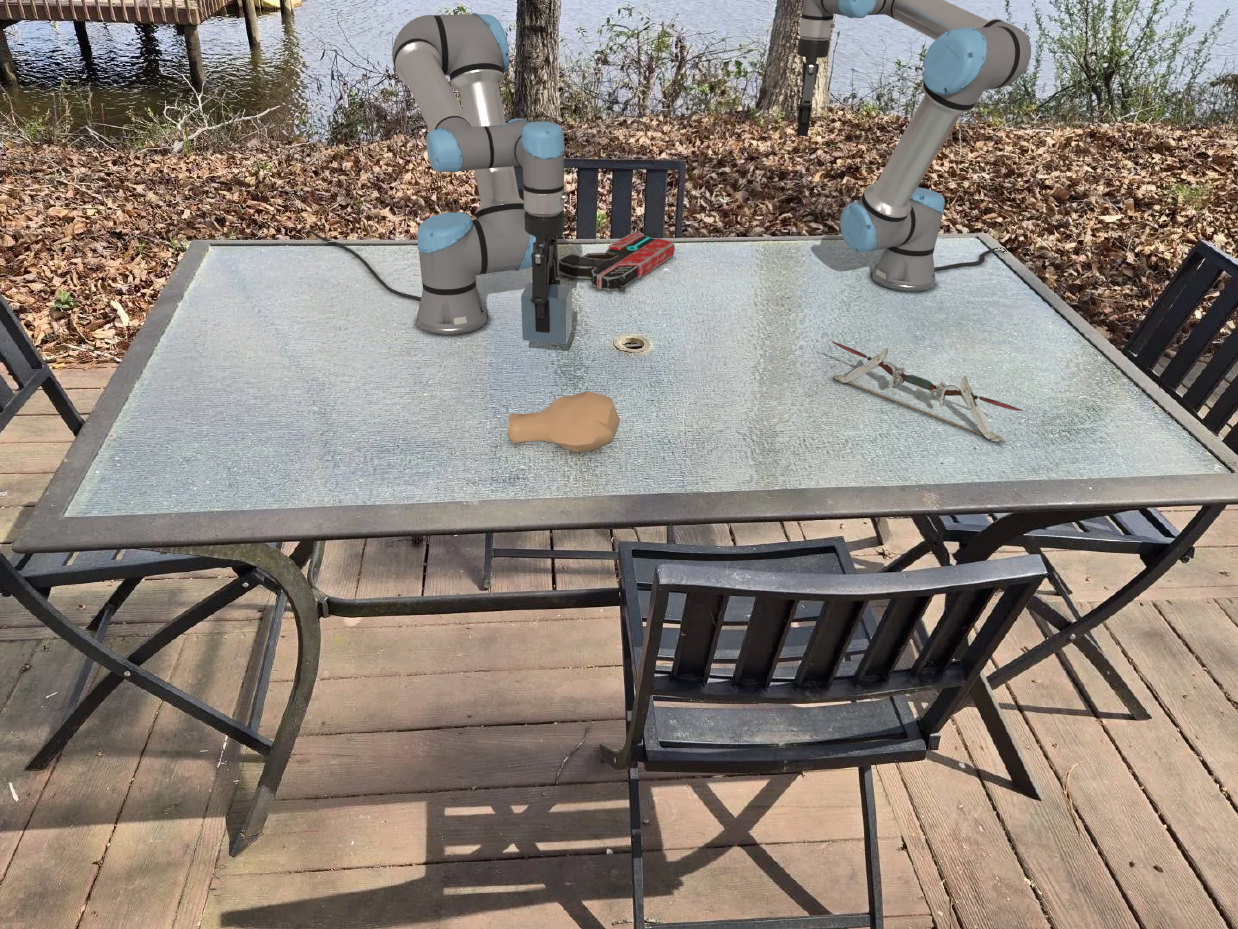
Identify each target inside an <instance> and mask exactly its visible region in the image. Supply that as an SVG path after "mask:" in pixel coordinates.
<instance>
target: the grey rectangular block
mask: <svg viewBox="0 0 1238 929" xmlns="http://www.w3.org/2000/svg"><path fill="white" fill-rule="evenodd" d="M531 299H532V282H528V283H527V284H526V286H525V288H524V289H523V291H522V293H521V295H520V302H521V304H520V305H521V332H522V336H521V337H522V341H526V342H538V343H550V344H560V345H561V344H562V345H566V344H567V343H568V341H569V338H570V336H571V333H572V330H573V286H572V285H565V284H560V285H553V284H549V285H548V301H549V315H550V331H549V333H548V332H537V331H536V325H535V303H533V302H531Z"/></svg>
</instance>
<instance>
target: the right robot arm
mask: <svg viewBox="0 0 1238 929" xmlns="http://www.w3.org/2000/svg"><path fill="white" fill-rule="evenodd" d="M835 15H837V16H843V17H847V18H849V19H864V18H866V17H867V16H880V15H881V16H883V15H884V16H887V17H889V18H892V19H893V20H896V21H898V22H899V23H902V24H904V25H905V26H907V27H910V28H911V29H913V30H915V31H917V32H918V33H919V32H920V33H921V34H922V35H925V36H927V37H929V38H930V39H933V40H934V41H933V42H932V43H931V45H929V48H928V49H927V51H926V53H925V56H924V58H923V61H922V62H923V63H922V67H923V68H924V69H923V70H922V72H921V73H922V79H923V82H922V90H923V93H924V95H923V96H922V100H921V101H920V103H919V105H918V106H917V108H916V109H915V112H914V114H913V115H912V117H911V119H910V121H909V123H908V125H907V127H906V128H905V130H904V132H903V133H902V136H901V138H900V139H899V141H898V143H897V144H896V145H895V146H896V147H895V148H894V150H893V152H892V154H891V155H890V157H889V159H888V161H887V163H886V165H885V167H884V168H883V170H882V172H881V173H880V176H879V177H878V179H877V181H876V182H875V183H871V184H869V185H868V186H867V187H866V188H865V189H864V191H863V193H862V194H861V196H860V198H859V200H858V201H857V202H855V201H854V202H851V203H849V204H847V205H846V206H845V207H843V209H842V212H841V215H840V218H839V219H840V220H839V228H840V233H841V237H842V240H843V241H844V243H845V244H846V246H847V247H848V248H849V249H850V250H852V251H853V252H856V253H872V252H874V251H880V250H883V252H882V253H881V256H880V258H879V260H878V263H877V264H876V265H875V266H874V268H873V272H872V275H871V276H872V281H873V282H875V283H876V284H878V285H880V286H881V287H884V288H886V289H889V290H893V291H897V292H898V291H899V292H905V293H906V292H907V293H918V292H925V291H928V290H930V289H932V288H933V287H934V285H935V282H936V272H938V271H944V270H949V269H955V268H961V267H971V266H979V265H981V264H983V263H985V260H986V256H988V255H990V254H992V253H995V252H996V251H994V250H995V249H998V247H994V248H993V247H992V248H990V249H988V250H985V251H984V252H982V253H981V255H980V259H979V260H977V261H967V262H958V263H952V264H947V265H942V266H935V262H934V261H935V260H934V252H935V248H936V243H937V240H938V235H939V232H940V227H941V223H942V219H943V215H944V213H945V212H944V209H945V203H946V201H945V197H944V196H943V195H942V194H941V193H939V192H936V191H935V190H931V189H928V188H923V187H919V186H920V184H921V182H922V180H923V178H924V177H925V175H926V174H927V172H928V170H929V169H930V167H931V166H932V163H933V162H934V160H935V158H936V157H937V156H938V154H939V152H940V150H941V149H942V147H943V145H944V144H945V142H946V140H947V139H948V137H949V135H950V134H951V132H952V130H953V129H954V128H955V126H956V124H957V122H958V121H959V118H960V117H961V115H962V114H964V113H967V112H971V111H972V110H973V109H974V108H975V106H976V105H977V103H978V102H979V100H980V98H981V97H982V95H983V93H984V92H985V91H987V90H997V89H1002V88H1004V87H1005V88H1006V87H1007V86H1010V85H1011V84H1013V83H1015V82H1016V81H1017V80H1018V79H1019V78H1020V77H1021V76H1023V74H1024V72H1025V71H1026V70H1027V68H1028V66H1029V64H1030V61H1031V56H1032V45H1031V41H1030V39H1029V37H1028V35H1027V34H1026V33H1025V32H1024V31H1023V30H1022V29H1021V28H1019V27H1018V26H1016V25H1013V24H1011V23H1009V22H1006V21H1004V20H1002V19H1000V18H993V19H990V20H988V19H986V18H984V17H982V16H979V15H978V14H975V13H973V12H970V11H969V10H966V9H964V8H962V7H959V6H957V5H956V4H953V3H951V2H949V1H947V0H803V1H802V11H801V17H800V23H799V24H800V25H799V31H798V35H799V37H800V38H799V39H798V41H797V49H796V54H797V55H798V56H799V57H802V58H805V62H802V67H801V73H802V75H801V78H802V79H801V83H802V85H801V86H802V87H801V88H800V90H801V92H800V98H799V104H798V105H797V109H798V114H797V121H796V124H797V128H796V137H809V129H810V121H811V116H812V107H813V98H814V96H815V92H814V90H815V84H816V83H817V78H818V74H819V69H820V63H817V60H818V58H819V59H823V58H826V57H828V55H829V51H830V44H831V41H830V39H829V38H830V37H831V34H832V29H834V28H835V26H836V25H835V23H834V16H835ZM999 248H1000V249H1001V248H1003V249H1004V250H1005V251H1006V252H1008V250H1007V249H1006V248H1004V247H1002V246H1001V247H999ZM1005 251H1003V252H1005ZM1003 252H1002V253H1003ZM1007 254H1008V253H1006V255H1007Z"/></svg>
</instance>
